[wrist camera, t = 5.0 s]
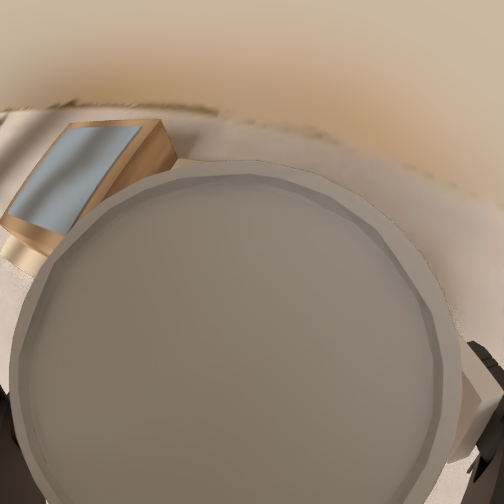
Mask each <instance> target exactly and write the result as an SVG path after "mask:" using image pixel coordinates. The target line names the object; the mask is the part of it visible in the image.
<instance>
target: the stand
mask: <svg viewBox="0 0 504 504" xmlns="http://www.w3.org/2000/svg"><path fill="white" fill-rule="evenodd" d="M197 162H207V161H199V160H190V159H181V158H178V157H177V155H176V152H175V150H174V148H173V146H172V144H171V141H170V139H169V137H168V135H167V132H166V130H165V128H164V126H163V123H162V121H161V119H135V120H109V121H92V122H80V123H70V124H69V125H68V126H67V127H66V128H65V130H64V131H63V132H62V133H61V134H60V136H59V137H58V138H57V139H56V140H55V142H54V143H53V144H52V145H51V146H50V148H49V149H48V150H47V151H46V153H45V154H44V155H43V157H42V158H41V159H40V161H39V162H38V163H37V165H36V166H35V167H34V169H33V170H32V171H31V173H30V174H29V176H28V177H27V178H26V180H25V181H24V183H23V184H22V186H21V187H20V189H19V190H18V192H17V193H16V195H15V196H14V198H13V200H12V201H11V203H10V204H9V206H8V208H7V209H6V211H5V212H4V214H3V216H2V218H1V219H0V225H1V226H2V227H3V228H5V229H6V230H7V231H8V232H9V233H10V235H9V237H8V239H7V241H6V242H5V244H4V246H3V248H2V250H1V252H0V255H1V256H2V257H4V258H5V259H6V260H8V261H9V262H11V263H12V264H13V265H15V266H16V267H18V268H19V269H21V270H22V271H24V272H25V273H27V274H28V275H30V276H32V277H33V278H35V277H36V275H37V273H38V271H39V269H40V268H41V266H42V265H43V264H44V262H45V261H46V260H47V258H48V257H49V256H50V254H51V253H52V252H53V251H54V249H55V248H56V247H57V246H58V244H59V243H60V242H61V241H62V240H63V238H64V237H65V236H66V235H67V234H68V232H69V231H70V230H71V229H72V228H73V227H74V225H75V224H76V223H77V222H78V221H79V220H80V219H82V218H83V217H84V216H85V215H86V214H88V213H89V212H90V211H91V210H93V209H94V208H95V207H96V206H98V205H99V204H100V203H101V202H103V201H104V200H105V199H107V198H109V197H110V196H112V195H114V194H116V193H117V192H119V191H121V190H123V189H125V188H126V187H128V186H130V185H132V184H134V183H136V182H137V181H139V180H141V179H143V178H145V177H149V176H152V175H155V174H158V173H162V172H165V171H169V170H172V169H175V168H179V167H182V166H186V165H190V164H193V163H197Z"/></svg>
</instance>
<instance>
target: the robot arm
mask: <svg viewBox="0 0 504 504" xmlns="http://www.w3.org/2000/svg"><path fill="white" fill-rule="evenodd" d="M456 333H457V336H458V340H459V343H460V348H461V364H462V402H461V409H460V415H459V421H458V426H457V431H456V436H455V441H454V444H453V447H452V449H451V452H450V454H449V456H448V459H447V463H448V464H449V463H452V462H455V461H458V460H460V459H463V458H466V457H468V456H469V455H470V453H471V452H472V450H473V449H474V447H475V445H476V446H477V448H478V450H479V452H480V453H479V455H478V456H477V458H476V459H475V460H474V462H473V463H472V465H471V466H470V467H469V469H468V471H467V473H468V474H469V473H470V472H471V471H472V469H473V471H472V474H471V477H470V480H469V483H468V486H467V488H466V491H465V494H464V496H463V499H462V502H461V504H504V370H503V369H502V368H501V366H500V365H499V366H498V363H497V362H496V360H495V359H494V358H492V356H491V354H490V353H489V352H488V351H487V350H486V349H485V347H483V346H481V345H480V344H478V343H476V342H475V341H471V342H467V343H466V342H465V341H464V339H463V338H462V337H461V336H460V335H459V333H458V332H457V331H456ZM0 504H46V499H45V497H44V496H43V494H42V493H41V491H40V489H39V488H38V486H37V485H36V483H35V481H34V479H33V477H32V474H31V472H30V470H29V468H28V465H27V463H26V461H25V458H24V456H23V453H22V451H21V448H20V446H19V443H18V440H17V437H16V433H15V427H14V422H13V416H12V410H11V403H10V393H8V394H7V395H6V394H5V392H4V390H3V389H2V387H1V385H0Z"/></svg>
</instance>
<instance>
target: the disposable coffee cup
mask: <svg viewBox="0 0 504 504" xmlns="http://www.w3.org/2000/svg"><path fill="white" fill-rule="evenodd" d="M9 393H10V403H11V410H12V416H13V422H14V427H15V433H16V437H17V440H18V443H19V446H20V448H21V451H22V453H23V456H24V458H25V461H26V463H27V465H28V468H29V470H30V472H31V474H32V477H33V479H34V481H35V483H36V485H37V486H38V488H39V489H40V491H41V493H42V494H43V496H44V497H45V499H46V500H47V502H48V503H49V504H424V502H425V500H426V499H427V497H428V496H429V494H430V492H431V491H432V489H433V487H434V486H435V484H436V482H437V480H438V478H439V476H440V474H441V472H442V470H443V467H444V465H445V463H446V461H447V459H448V456H449V454H450V452H451V449H452V447H453V444H454V441H455V436H456V431H457V426H458V421H459V415H460V409H461V402H462V364H461V348H460V343H459V340H458V336H457V333H456V330H455V326H454V323H453V320H452V317H451V314H450V311H449V308H448V305H447V302H446V299H445V296H444V293H443V291H442V288H441V287H440V285H439V283H438V281H437V280H436V278H435V276H434V274H433V273H432V271H431V269H430V268H429V266H428V264H427V263H426V261H425V259H424V258H423V256H422V255H421V253H420V252H419V251H418V249H417V248H416V247H415V246H414V245H413V243H412V242H411V241H410V240H409V239H408V238H407V237H406V235H405V234H404V233H403V232H402V231H401V230H400V229H399V227H398V226H397V225H395V224H394V223H393V222H392V221H391V220H390V219H388V218H387V217H386V216H385V215H384V214H382V213H381V212H380V211H379V210H377V209H376V208H375V207H374V206H373V205H371V204H370V203H369V202H368V201H366V200H365V199H364V198H363V197H361V196H359V195H357V194H355V193H353V192H351V191H349V190H347V189H345V188H343V187H341V186H339V185H337V184H335V183H333V182H331V181H329V180H327V179H325V178H323V177H321V176H319V175H317V174H315V173H313V172H309V171H304V170H300V169H296V168H291V167H287V166H283V165H278V164H273V163H269V162H264V161H259V160H239V161H212V162H197V163H193V164H190V165H186V166H182V167H179V168H175V169H172V170H169V171H165V172H162V173H158V174H155V175H152V176H149V177H145V178H143V179H141V180H139V181H137V182H136V183H134V184H132V185H130V186H128V187H126V188H125V189H123V190H121V191H119V192H117V193H116V194H114V195H112V196H110V197H109V198H107V199H105V200H104V201H103V202H101V203H100V204H99V205H98V206H96V207H95V208H94V209H93V210H91V211H90V212H89V213H88V214H86V215H85V216H84V217H83V218H82V219H80V220H79V221H78V222H77V223H76V224H75V225H74V227H73V228H72V229H71V230H70V231H69V232H68V234H67V235H66V236H65V237H64V238H63V240H62V241H61V242H60V243H59V244H58V246H57V247H56V248H55V249H54V251H53V252H52V253H51V254H50V256H49V257H48V258H47V260H46V261H45V262H44V264H43V265H42V266H41V268H40V269H39V271H38V273H37V275H36V277H35V279H34V281H33V283H32V285H31V287H30V289H29V291H28V293H27V296H26V298H25V300H24V302H23V305H22V308H21V311H20V315H19V318H18V321H17V325H16V328H15V332H14V335H13V341H12V348H11V355H10V364H9Z"/></svg>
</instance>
